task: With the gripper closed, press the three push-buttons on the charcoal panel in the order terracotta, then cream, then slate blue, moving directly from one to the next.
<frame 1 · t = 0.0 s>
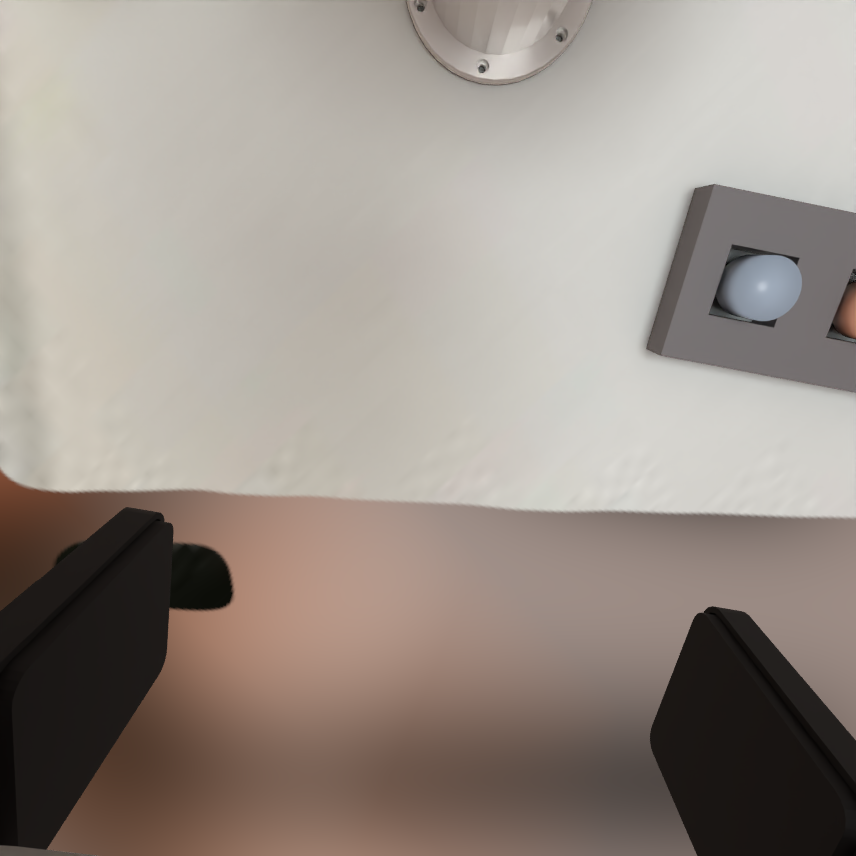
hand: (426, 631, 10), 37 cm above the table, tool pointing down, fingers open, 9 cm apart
button panel: (843, 306, 44), on the table
slate blue button: (757, 287, 40), point 3 cm above the table, slide at 0.0 cm
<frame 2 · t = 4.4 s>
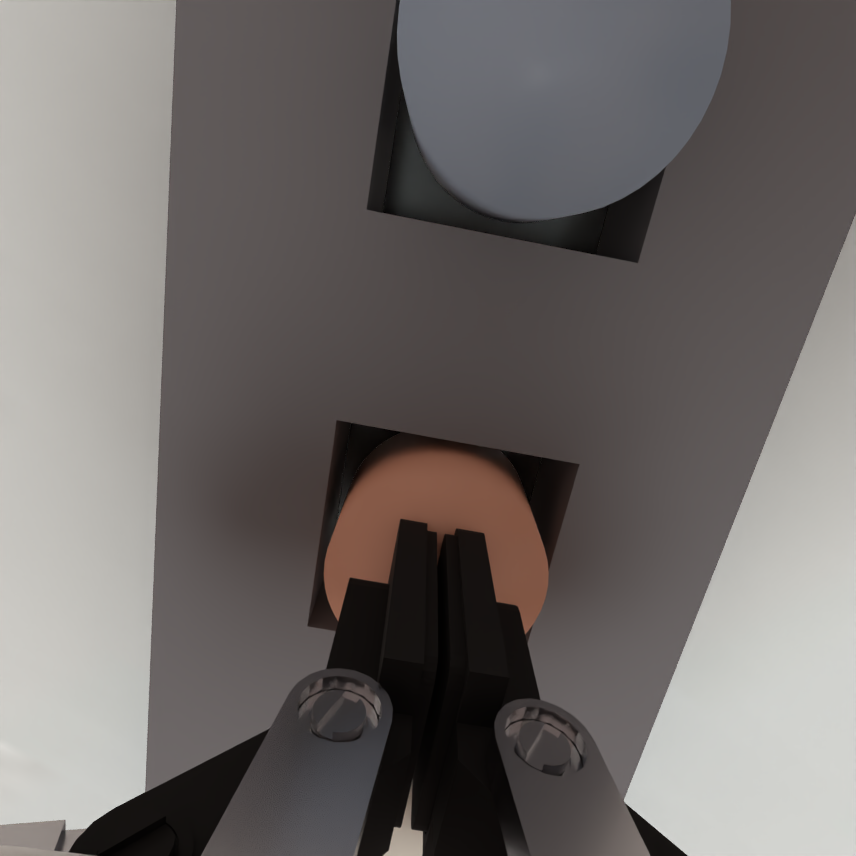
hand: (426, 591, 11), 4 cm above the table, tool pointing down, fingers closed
button panel: (436, 491, 15), on the table
terracotta button: (436, 541, 13), point 3 cm above the table, slide at 0.8 cm
slate blue button: (542, 72, 9), point 3 cm above the table, slide at 0.0 cm
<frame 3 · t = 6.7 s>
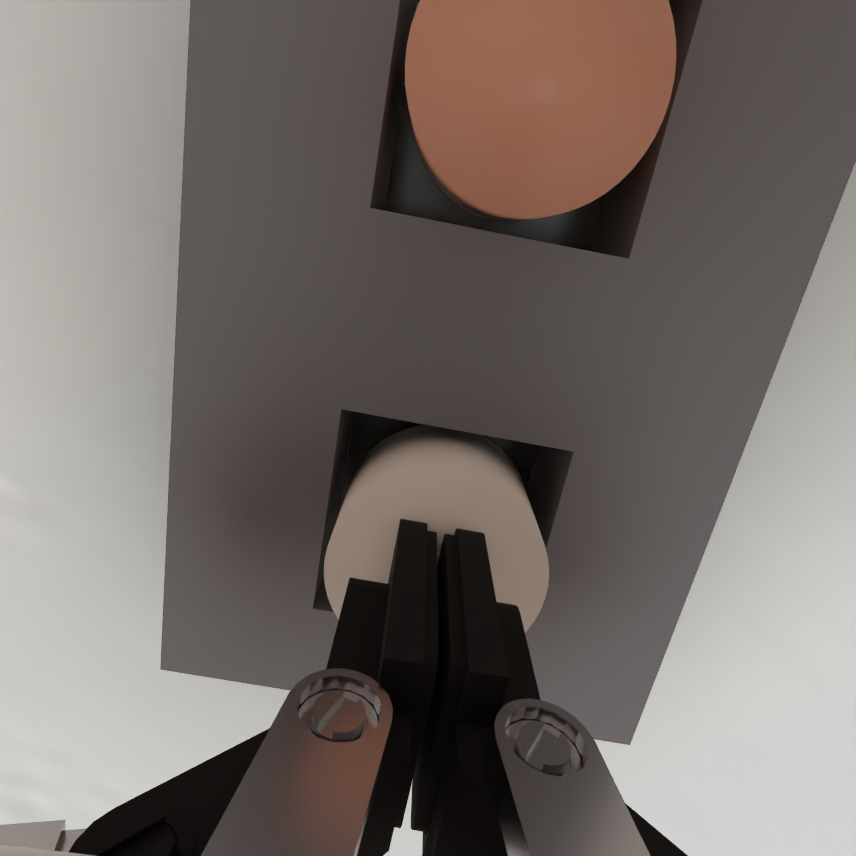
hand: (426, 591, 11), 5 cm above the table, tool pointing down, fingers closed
button panel: (511, 119, 13), on the table
cream button: (436, 539, 13), point 3 cm above the table, slide at 0.3 cm, touching gripper
terracotta button: (526, 95, 11), point 2 cm above the table, slide at 1.3 cm
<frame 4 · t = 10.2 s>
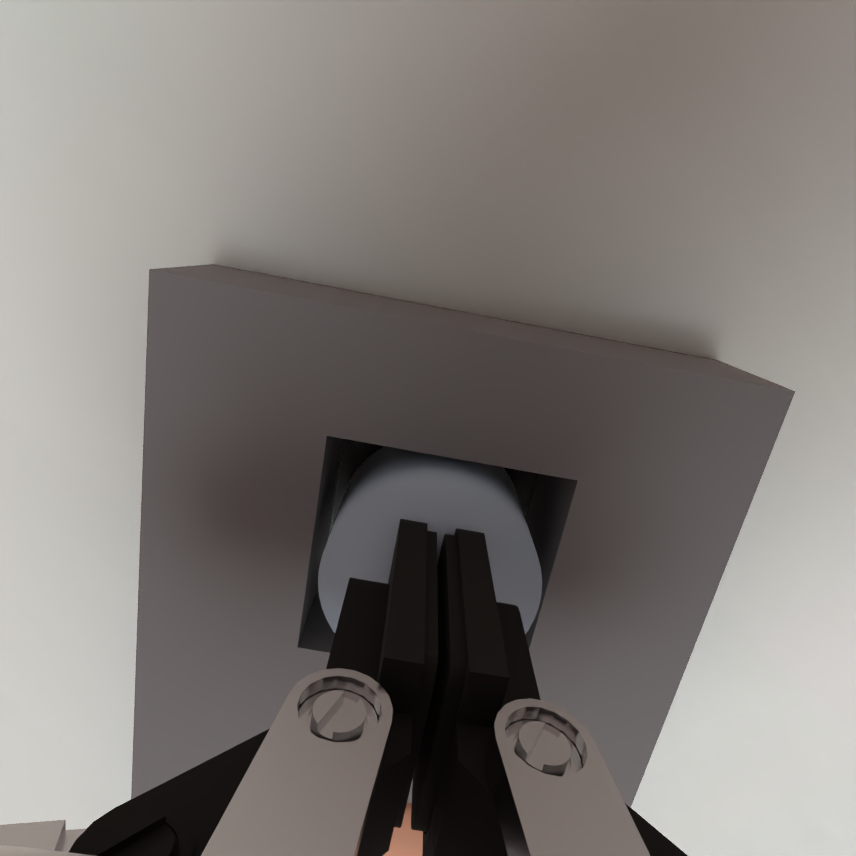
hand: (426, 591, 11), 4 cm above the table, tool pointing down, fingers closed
button panel: (376, 768, 17), on the table
terracotta button: (368, 840, 15), point 2 cm above the table, slide at 1.3 cm
slate blue button: (430, 549, 13), point 2 cm above the table, slide at 1.3 cm, touching gripper
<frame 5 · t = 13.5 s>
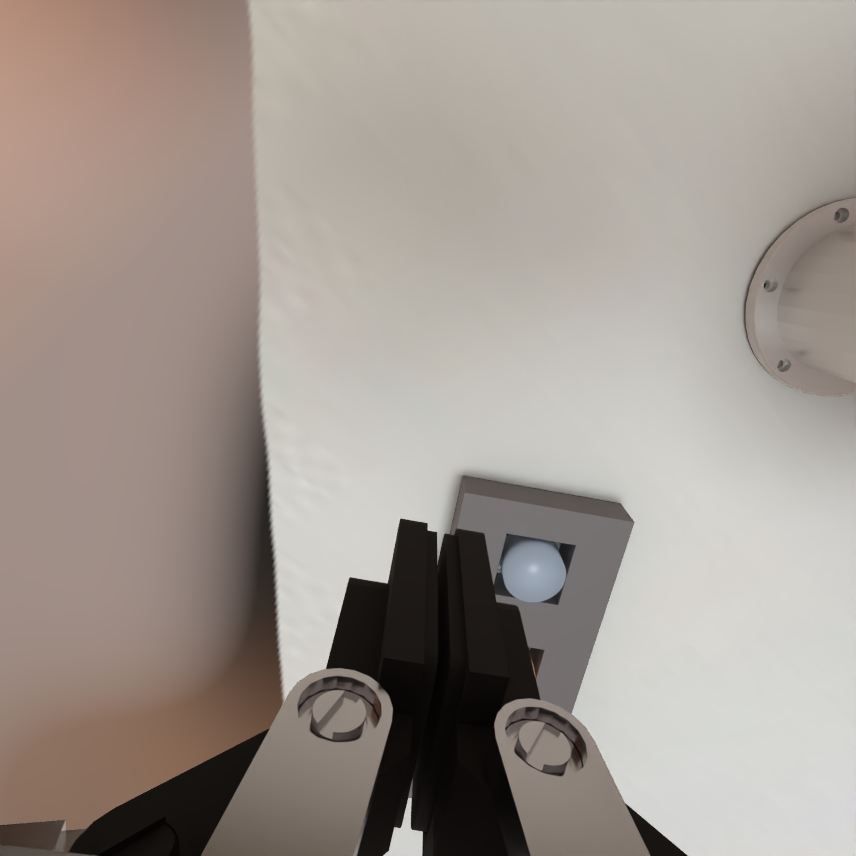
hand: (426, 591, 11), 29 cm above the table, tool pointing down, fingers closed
button panel: (500, 645, 46), on the table
terracotta button: (503, 664, 44), point 2 cm above the table, slide at 1.3 cm
slate blue button: (531, 564, 41), point 2 cm above the table, slide at 1.3 cm
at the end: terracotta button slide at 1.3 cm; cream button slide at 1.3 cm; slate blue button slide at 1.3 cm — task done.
